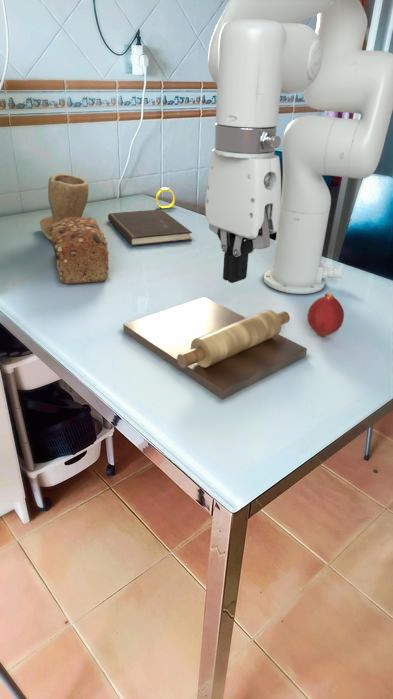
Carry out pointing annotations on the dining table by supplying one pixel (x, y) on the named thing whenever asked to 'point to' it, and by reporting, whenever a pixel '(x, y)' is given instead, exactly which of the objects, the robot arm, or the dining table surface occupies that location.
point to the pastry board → (202, 318)
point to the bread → (80, 250)
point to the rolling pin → (233, 339)
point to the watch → (165, 191)
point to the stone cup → (64, 199)
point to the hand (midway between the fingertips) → (234, 279)
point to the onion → (325, 315)
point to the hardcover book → (149, 227)
